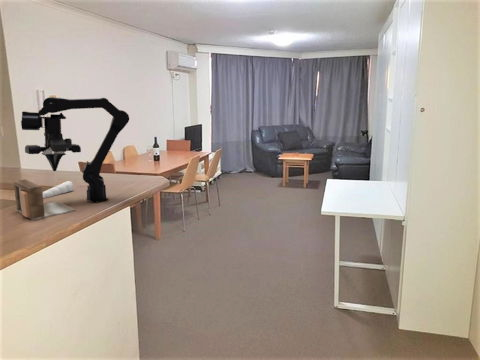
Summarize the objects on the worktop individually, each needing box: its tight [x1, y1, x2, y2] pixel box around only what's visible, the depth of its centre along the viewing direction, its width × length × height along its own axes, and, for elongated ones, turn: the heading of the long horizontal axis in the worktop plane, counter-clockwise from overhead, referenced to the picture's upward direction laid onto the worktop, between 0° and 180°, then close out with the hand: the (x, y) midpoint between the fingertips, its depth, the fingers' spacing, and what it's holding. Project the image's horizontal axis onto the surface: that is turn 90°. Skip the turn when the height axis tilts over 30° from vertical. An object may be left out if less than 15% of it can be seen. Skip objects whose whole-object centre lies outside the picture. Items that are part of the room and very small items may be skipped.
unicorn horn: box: [42, 180, 75, 199], centre depth 162 cm, size 5×24×5 cm, turn 151°
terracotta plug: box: [20, 191, 45, 218], centre depth 135 cm, size 6×4×8 cm, turn 138°
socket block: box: [13, 179, 76, 221], centre depth 142 cm, size 15×15×11 cm
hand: (54, 171), depth 149 cm, fingers closed
